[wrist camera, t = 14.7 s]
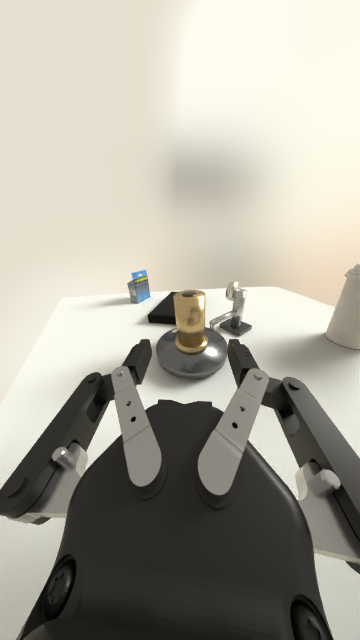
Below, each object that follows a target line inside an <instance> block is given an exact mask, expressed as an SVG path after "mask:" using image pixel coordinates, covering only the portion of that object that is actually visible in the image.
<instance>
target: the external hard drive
mask: <svg viewBox="0 0 360 640" xmlns="http://www.w3.org/2000/svg"><path fill="white" fill-rule="evenodd" d="M175 293H177V292H171V293H170V294H169V295H168V296H167V297H166V298H165V299H164V300H163V301H162V302H161V303H160V304H159V305H158V306H157V307H156V308H155V309H154V310H153V311H151V312H150V313H149V314H148V320H149V323H162V324H175V325H176V317H175V307H174V298H173V295H174V294H175Z"/></svg>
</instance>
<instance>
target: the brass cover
mask: <svg viewBox="0 0 360 640" xmlns="http://www.w3.org/2000/svg"><path fill="white" fill-rule="evenodd" d="M173 298H174V307H175V317H176V326H177V336H176V338H175V345H176V349H177V350H178V351H179V352H181V353H183V354H186V355H197V354H200V353H202V352H204V351H205V350H206V349H207V346H208V338H207V336H206V335H205V293H204V292H202V291H198V290H186V291H180V292H177V293H175V294H174V295H173Z"/></svg>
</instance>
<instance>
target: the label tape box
mask: <svg viewBox="0 0 360 640" xmlns="http://www.w3.org/2000/svg"><path fill="white" fill-rule="evenodd" d="M131 274H132V277H133V280H132V281H131V282H129V283H128V288H129V293H130V297H131V301H132V302H133V303H140V302H142V301H143V300H145V299H147V298H149V297H150V291H149V284H148V278H147V273H146V270H143V271H139V272H135V273H131ZM139 274H142V276H137V275H139Z"/></svg>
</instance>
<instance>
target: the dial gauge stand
mask: <svg viewBox="0 0 360 640" xmlns="http://www.w3.org/2000/svg"><path fill="white" fill-rule="evenodd" d="M245 296H246V290H243V289H241V285H240V283H239V282H231V283H230V284H229V286H228V287H227V290H226V298H227V299H228V300H231V301H234V302H233V310H232V311H230V312H228V313H226V314H223V315H221V316H219V317H217V318H215V319H213V320H211V321H210V322H209V323H210V330H211V331H213V330H214V325H215V324H217V323H219V322H221V321H223V320H225V319H227V318H229V317H231V316H232V317H231V318H230V319H228V320H226V321H224V322H222V323H220V327H221V328H223V329H225V330H228V331H230V332H232V333H234V334H236V335H238V336H241V335H243V334H244V333H246V332H247V331H249V330H250V329H251V328H252V325H249V324H246V323H244V322H241V320H242V314H243V308H244V302H245Z"/></svg>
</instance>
